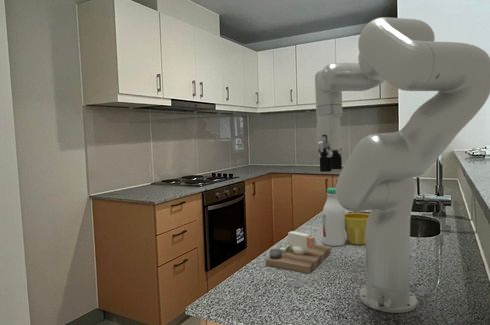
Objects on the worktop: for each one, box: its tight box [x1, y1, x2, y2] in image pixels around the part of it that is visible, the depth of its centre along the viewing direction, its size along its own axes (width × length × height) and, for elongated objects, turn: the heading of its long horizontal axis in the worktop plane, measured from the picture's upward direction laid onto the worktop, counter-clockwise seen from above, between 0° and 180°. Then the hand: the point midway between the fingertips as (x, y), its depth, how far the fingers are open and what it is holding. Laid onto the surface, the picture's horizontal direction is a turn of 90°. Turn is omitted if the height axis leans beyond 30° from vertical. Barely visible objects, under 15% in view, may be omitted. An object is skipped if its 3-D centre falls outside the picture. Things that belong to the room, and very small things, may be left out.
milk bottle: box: [322, 187, 346, 247], centre depth 126 cm, size 8×8×20 cm
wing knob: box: [287, 230, 316, 255], centre depth 112 cm, size 9×4×6 cm, turn 47°
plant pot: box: [345, 212, 370, 246], centre depth 127 cm, size 10×10×10 cm
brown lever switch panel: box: [265, 243, 332, 274], centre depth 112 cm, size 20×14×4 cm
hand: (331, 170), depth 105 cm, fingers open, 9 cm apart
